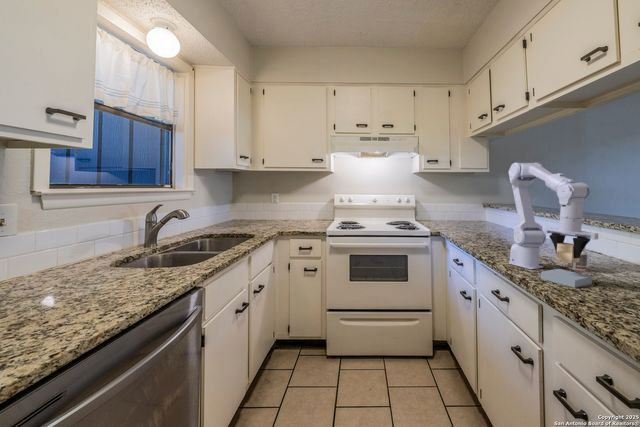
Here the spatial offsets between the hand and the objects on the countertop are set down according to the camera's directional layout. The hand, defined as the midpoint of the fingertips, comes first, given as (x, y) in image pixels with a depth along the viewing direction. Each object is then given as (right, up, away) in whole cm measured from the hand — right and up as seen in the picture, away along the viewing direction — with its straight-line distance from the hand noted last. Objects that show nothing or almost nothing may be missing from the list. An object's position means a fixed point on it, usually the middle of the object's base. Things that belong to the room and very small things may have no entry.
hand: (567, 256), depth 95 cm
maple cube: (0, -2, 0) cm, 2 cm away
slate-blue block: (0, -9, +1) cm, 9 cm away
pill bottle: (+17, -8, +15) cm, 24 cm away
